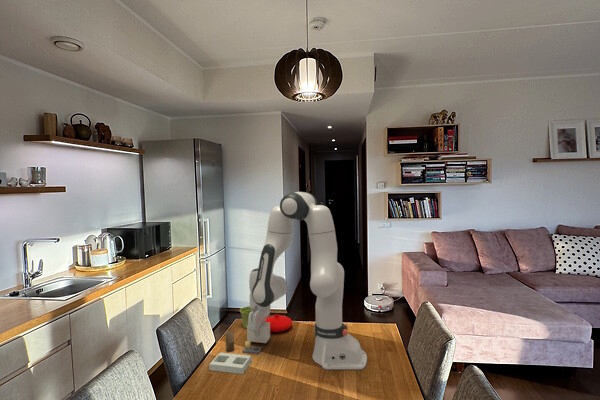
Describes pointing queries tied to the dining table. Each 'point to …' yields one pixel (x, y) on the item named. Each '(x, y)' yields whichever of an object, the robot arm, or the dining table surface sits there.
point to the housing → (260, 333)
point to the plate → (251, 348)
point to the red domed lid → (279, 323)
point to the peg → (229, 341)
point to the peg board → (230, 363)
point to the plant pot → (245, 315)
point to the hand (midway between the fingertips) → (259, 332)
